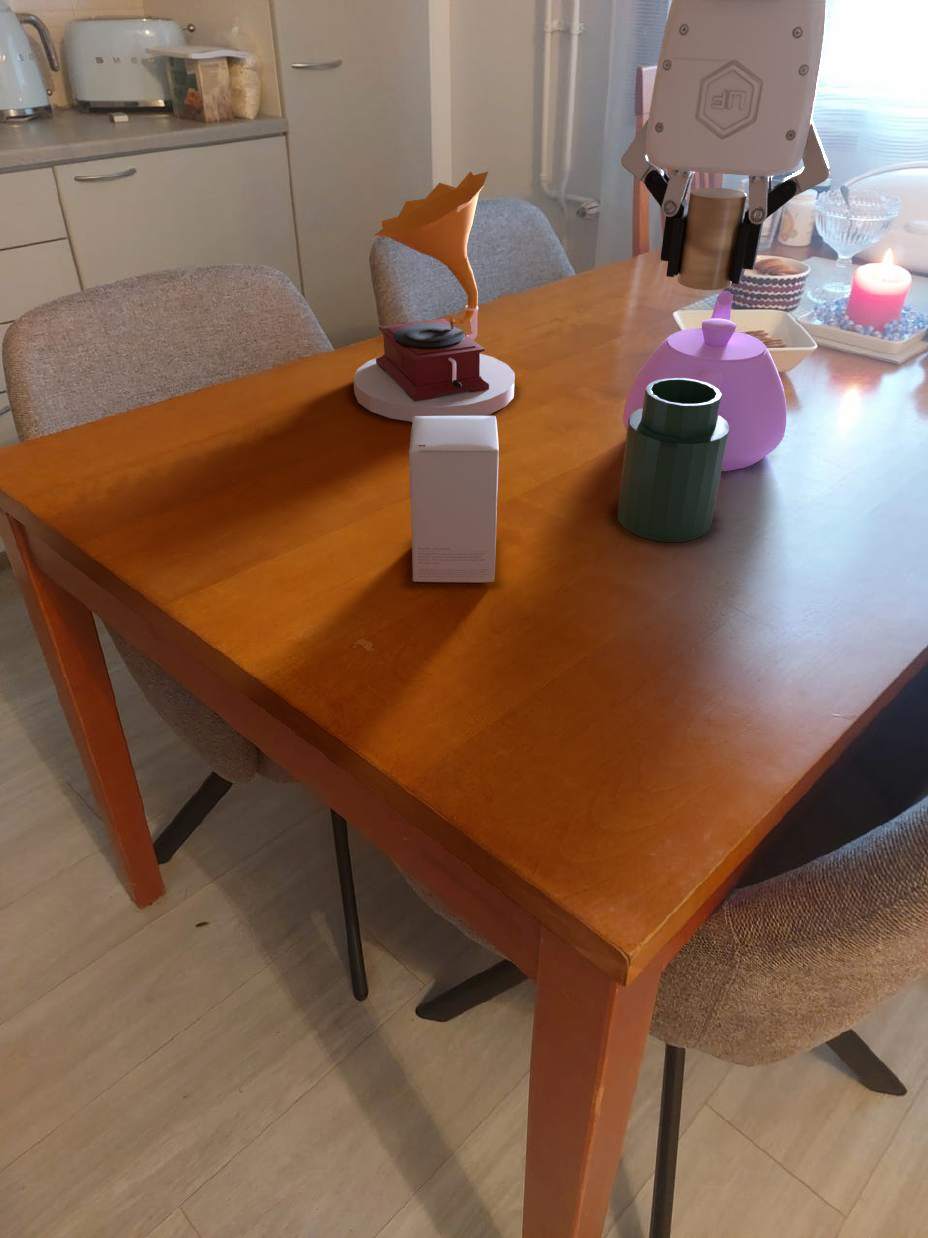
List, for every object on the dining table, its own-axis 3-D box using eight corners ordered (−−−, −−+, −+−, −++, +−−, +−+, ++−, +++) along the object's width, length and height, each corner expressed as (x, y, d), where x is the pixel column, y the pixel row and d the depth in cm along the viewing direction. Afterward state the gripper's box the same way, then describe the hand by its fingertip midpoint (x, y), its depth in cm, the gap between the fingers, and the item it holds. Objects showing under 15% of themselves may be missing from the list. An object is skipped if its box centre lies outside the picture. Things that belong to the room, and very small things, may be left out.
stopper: (734, 278, 66) (750, 189, 62) (727, 292, 63) (743, 200, 59) (682, 273, 67) (695, 185, 63) (673, 286, 64) (686, 195, 60)
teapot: (780, 498, 91) (812, 367, 83) (607, 477, 94) (620, 349, 86) (778, 406, 110) (803, 292, 102) (635, 391, 114) (648, 280, 106)
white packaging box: (495, 584, 78) (499, 450, 70) (411, 583, 78) (405, 450, 70) (494, 540, 84) (498, 413, 76) (415, 540, 84) (411, 413, 76)
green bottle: (717, 506, 89) (741, 381, 82) (702, 550, 83) (726, 417, 75) (629, 490, 92) (644, 367, 84) (607, 531, 85) (621, 401, 78)
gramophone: (475, 354, 125) (477, 155, 110) (543, 407, 110) (556, 184, 95) (334, 374, 118) (317, 166, 104) (385, 434, 103) (373, 199, 88)
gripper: (605, -40, 53) (580, 276, 64) (904, -39, 49) (822, 303, 59) (632, -39, 59) (605, 251, 70) (903, -38, 54) (828, 274, 65)
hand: (705, 272), depth 64 cm, fingers closed on stopper, 3 cm apart
